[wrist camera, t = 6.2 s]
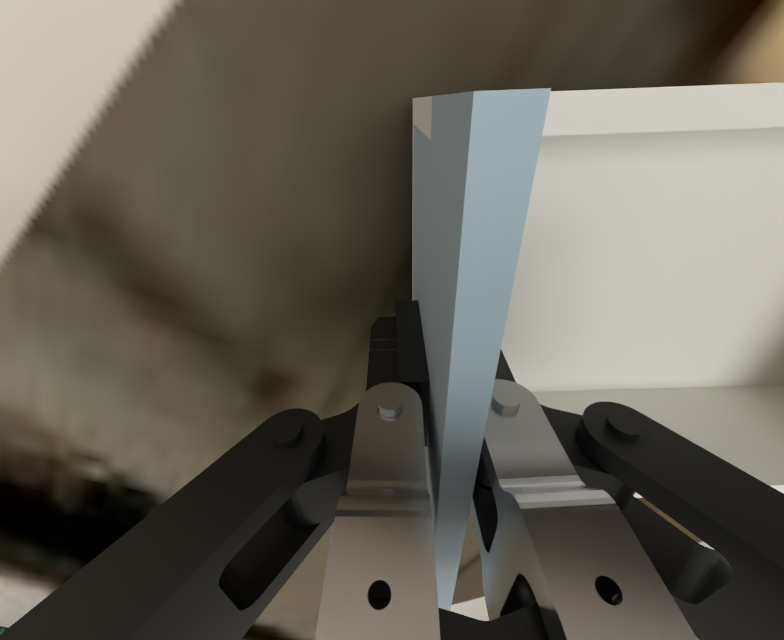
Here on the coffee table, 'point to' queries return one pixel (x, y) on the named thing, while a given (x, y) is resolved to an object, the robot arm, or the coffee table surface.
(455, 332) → the inner tray
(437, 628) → the robot arm
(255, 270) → the coffee table surface
